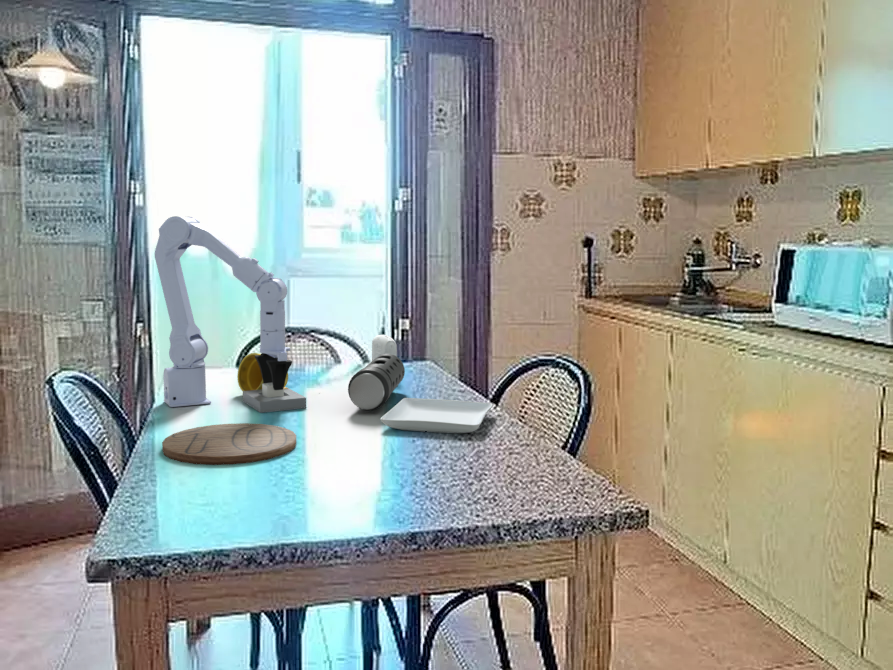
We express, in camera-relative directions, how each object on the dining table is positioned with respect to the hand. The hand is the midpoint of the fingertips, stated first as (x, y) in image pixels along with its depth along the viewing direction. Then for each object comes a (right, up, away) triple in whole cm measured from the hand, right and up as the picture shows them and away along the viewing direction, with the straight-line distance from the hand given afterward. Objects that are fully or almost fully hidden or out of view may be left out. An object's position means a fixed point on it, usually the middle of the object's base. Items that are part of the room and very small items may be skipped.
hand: (273, 386), depth 196 cm
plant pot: (-2, +1, +17) cm, 17 cm away
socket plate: (0, -4, +1) cm, 4 cm away
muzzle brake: (+24, -4, +4) cm, 25 cm away
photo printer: (+24, 0, +36) cm, 43 cm away
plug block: (0, -4, 0) cm, 4 cm away
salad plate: (+39, -8, -16) cm, 43 cm away
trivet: (-1, -10, -37) cm, 38 cm away
